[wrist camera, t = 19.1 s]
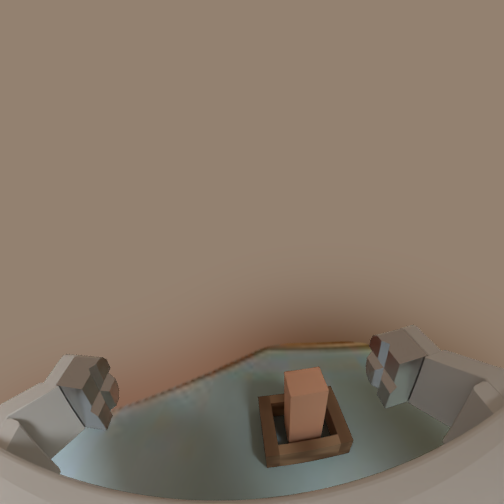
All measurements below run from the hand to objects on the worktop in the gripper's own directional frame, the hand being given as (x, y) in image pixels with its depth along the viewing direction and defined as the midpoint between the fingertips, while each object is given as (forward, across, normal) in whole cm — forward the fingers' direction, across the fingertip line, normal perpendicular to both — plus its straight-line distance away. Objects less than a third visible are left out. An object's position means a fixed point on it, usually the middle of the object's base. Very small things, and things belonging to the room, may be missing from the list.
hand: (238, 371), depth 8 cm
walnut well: (+15, -6, +26) cm, 31 cm away
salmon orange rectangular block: (+15, -6, +26) cm, 31 cm away
